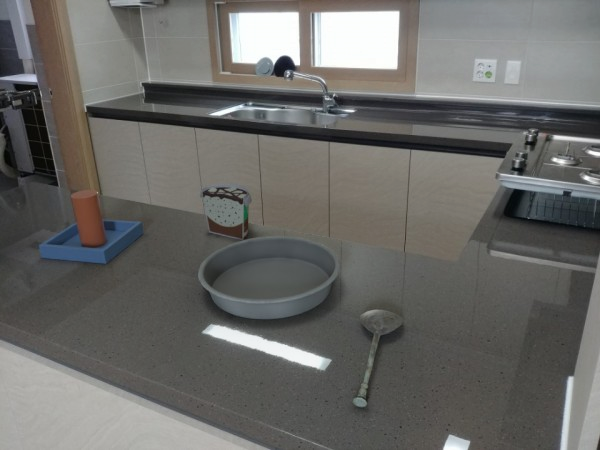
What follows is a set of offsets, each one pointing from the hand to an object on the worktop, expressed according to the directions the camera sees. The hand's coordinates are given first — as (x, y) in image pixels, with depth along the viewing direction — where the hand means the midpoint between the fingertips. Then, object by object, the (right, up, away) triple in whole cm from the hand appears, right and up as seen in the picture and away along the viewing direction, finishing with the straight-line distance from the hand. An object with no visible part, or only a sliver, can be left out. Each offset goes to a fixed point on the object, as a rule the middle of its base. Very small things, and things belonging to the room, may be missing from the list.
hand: (22, 93), depth 114 cm
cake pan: (+54, -39, -19) cm, 69 cm away
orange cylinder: (+15, -32, 0) cm, 35 cm away
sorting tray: (+15, -32, 0) cm, 36 cm away
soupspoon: (+69, -47, -37) cm, 91 cm away
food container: (+44, -29, +4) cm, 53 cm away
